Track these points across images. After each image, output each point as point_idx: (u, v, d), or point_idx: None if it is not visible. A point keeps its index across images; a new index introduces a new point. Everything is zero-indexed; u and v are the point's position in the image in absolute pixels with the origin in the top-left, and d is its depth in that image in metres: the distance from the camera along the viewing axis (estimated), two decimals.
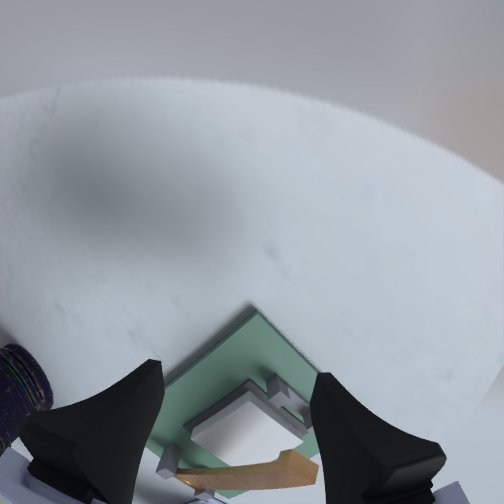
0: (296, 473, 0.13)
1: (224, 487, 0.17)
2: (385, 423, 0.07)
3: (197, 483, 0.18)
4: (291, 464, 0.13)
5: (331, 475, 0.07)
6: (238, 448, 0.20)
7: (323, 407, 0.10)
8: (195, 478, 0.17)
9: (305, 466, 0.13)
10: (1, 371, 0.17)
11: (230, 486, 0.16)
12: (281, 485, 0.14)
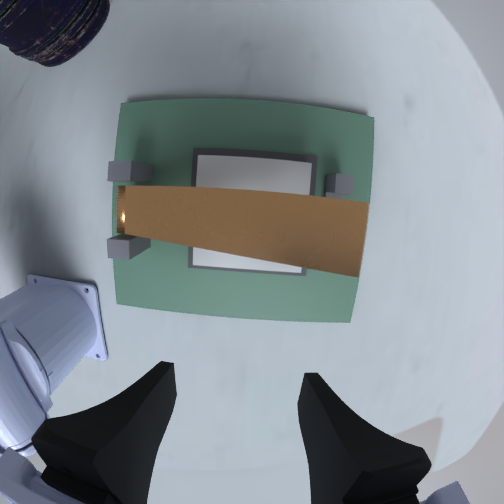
0: (365, 227, 0.10)
1: (180, 233, 0.14)
2: (370, 426, 0.07)
3: (139, 215, 0.15)
4: (368, 211, 0.10)
5: (316, 477, 0.07)
6: None
7: (309, 408, 0.10)
8: (153, 198, 0.14)
9: None
10: None
11: (199, 230, 0.13)
12: (302, 255, 0.11)
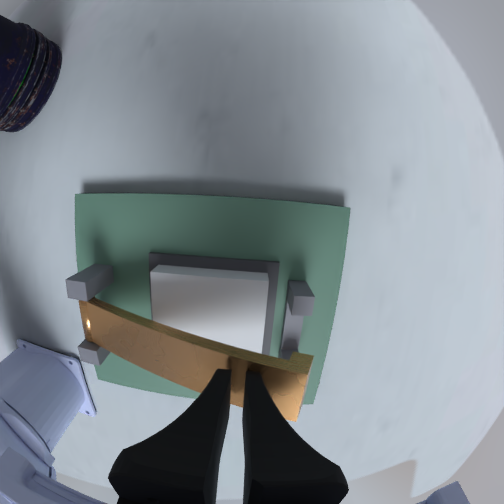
0: (303, 391, 0.11)
1: (142, 361, 0.14)
2: (291, 432, 0.07)
3: (103, 333, 0.15)
4: (308, 374, 0.11)
5: (245, 478, 0.07)
6: (189, 328, 0.17)
7: (245, 406, 0.10)
8: (113, 323, 0.14)
9: (305, 389, 0.12)
10: (24, 41, 0.10)
11: (158, 363, 0.13)
12: None
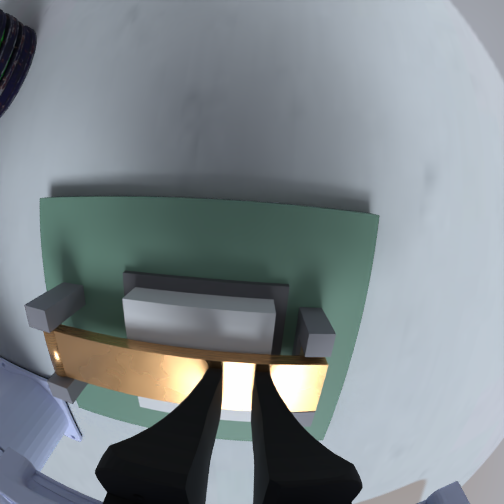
0: (323, 380, 0.12)
1: (137, 388, 0.12)
2: (304, 432, 0.07)
3: (81, 364, 0.11)
4: None
5: (255, 478, 0.07)
6: None
7: (254, 407, 0.10)
8: (95, 352, 0.11)
9: None
10: None
11: (159, 387, 0.12)
12: None
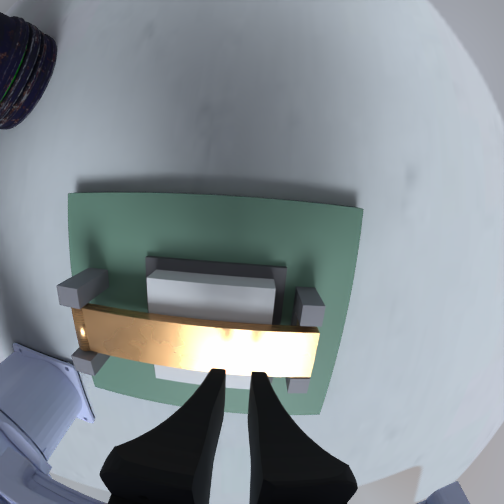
0: (316, 348, 0.14)
1: (156, 357, 0.14)
2: (299, 432, 0.07)
3: (105, 338, 0.14)
4: None
5: (251, 478, 0.07)
6: None
7: (251, 407, 0.10)
8: (120, 325, 0.14)
9: None
10: (17, 35, 0.08)
11: (176, 355, 0.14)
12: (268, 369, 0.14)
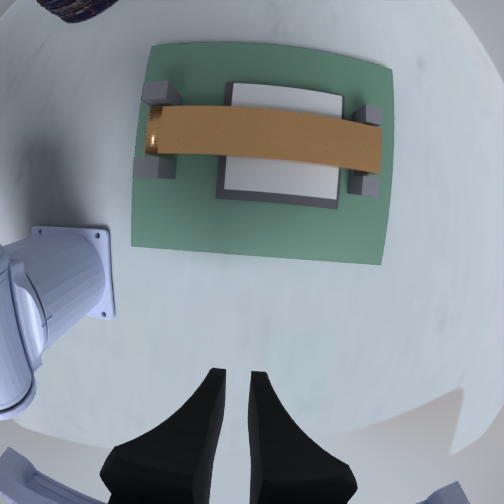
0: (381, 143, 0.15)
1: (236, 146, 0.15)
2: (299, 432, 0.07)
3: (182, 132, 0.15)
4: None
5: (251, 478, 0.07)
6: None
7: (251, 407, 0.10)
8: (203, 116, 0.15)
9: None
10: None
11: (258, 141, 0.15)
12: (345, 159, 0.15)
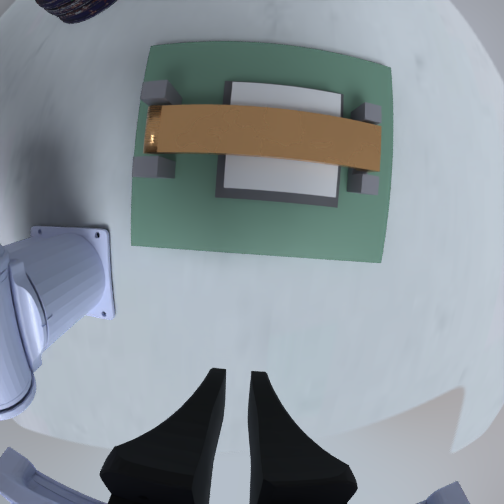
0: (380, 140, 0.15)
1: (236, 144, 0.15)
2: (299, 432, 0.07)
3: (181, 131, 0.15)
4: None
5: (251, 478, 0.07)
6: None
7: (251, 407, 0.10)
8: (202, 114, 0.15)
9: None
10: None
11: (257, 140, 0.15)
12: (344, 157, 0.15)
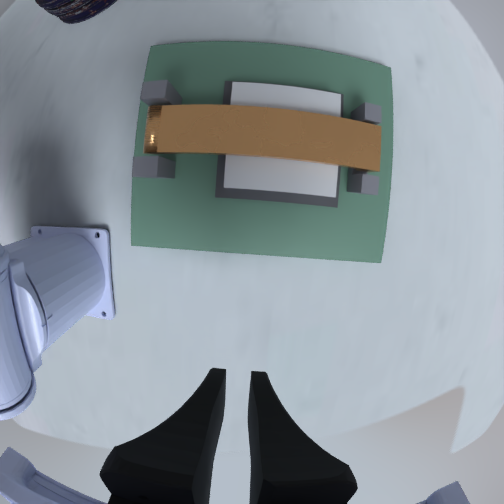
0: (380, 140, 0.15)
1: (236, 144, 0.15)
2: (299, 432, 0.07)
3: (181, 131, 0.15)
4: None
5: (251, 478, 0.07)
6: None
7: (251, 407, 0.10)
8: (202, 114, 0.15)
9: None
10: None
11: (257, 140, 0.15)
12: (344, 157, 0.15)
